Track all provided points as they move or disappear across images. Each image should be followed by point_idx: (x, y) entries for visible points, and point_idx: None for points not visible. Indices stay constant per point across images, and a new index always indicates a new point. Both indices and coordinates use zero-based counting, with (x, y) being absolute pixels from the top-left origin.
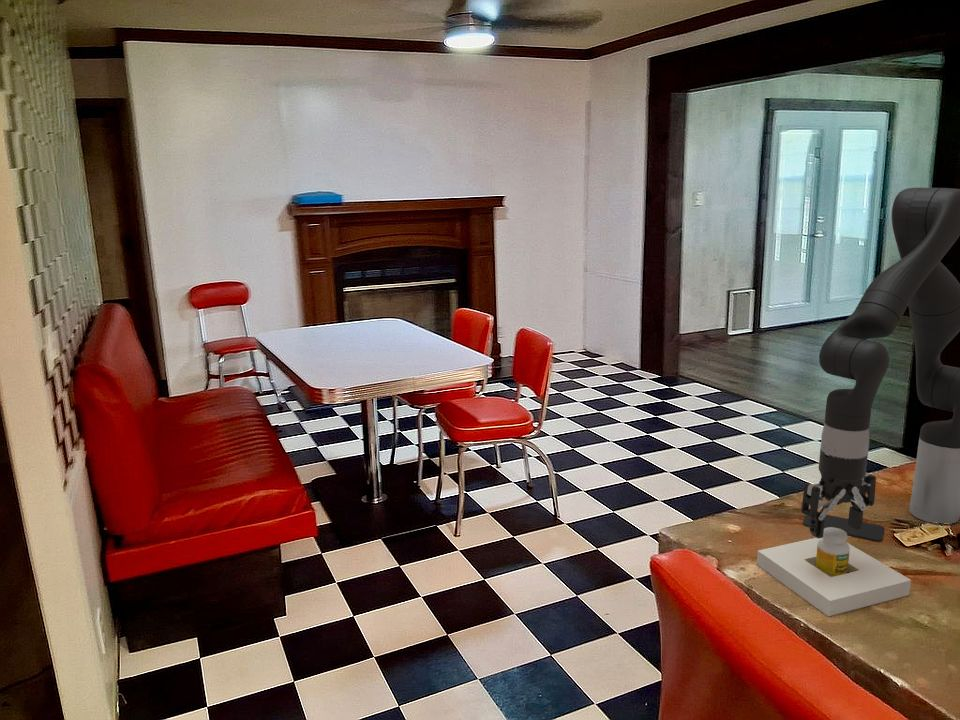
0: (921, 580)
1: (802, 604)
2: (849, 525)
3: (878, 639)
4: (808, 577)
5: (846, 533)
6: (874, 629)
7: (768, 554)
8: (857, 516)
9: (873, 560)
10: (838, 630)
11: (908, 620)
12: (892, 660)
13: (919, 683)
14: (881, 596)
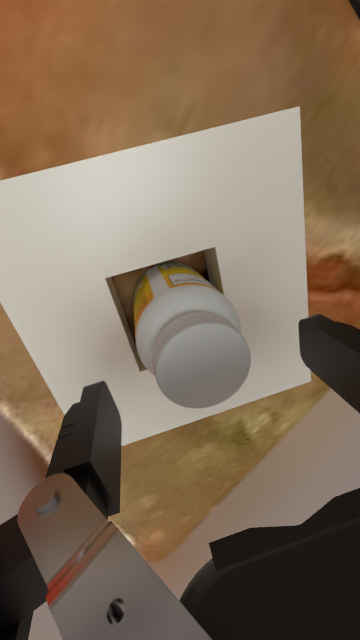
0: (352, 313)
1: None
2: (300, 325)
3: (150, 473)
4: (76, 373)
5: (243, 381)
6: (159, 452)
7: None
8: (348, 394)
9: (297, 298)
10: None
11: (231, 428)
12: (142, 510)
13: (150, 539)
14: None
